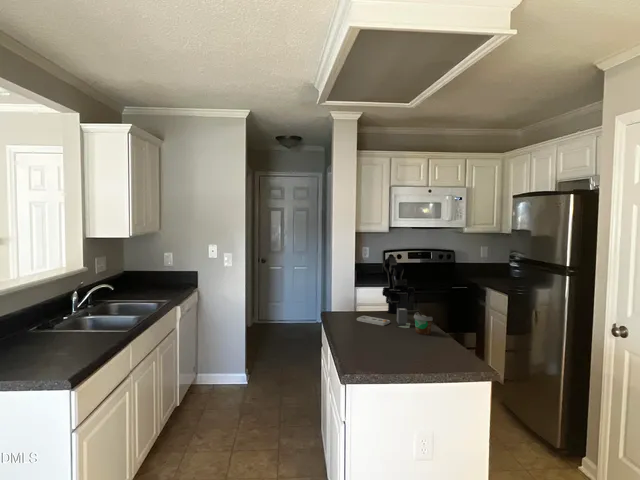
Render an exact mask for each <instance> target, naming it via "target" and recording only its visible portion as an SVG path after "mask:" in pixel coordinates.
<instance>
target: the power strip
mask: <svg viewBox="0 0 640 480" xmlns="http://www.w3.org/2000/svg"><path fill="white" fill-rule="evenodd" d="M356 321H358V322H363V323H367V324H373V325H378V326H386V325H388V324H390V323H391V320H389V319H385V318H381V317H374V316H370V315H369V316H367V315H361V316H359V317H357V318H356Z"/></svg>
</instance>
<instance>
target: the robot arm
mask: <svg viewBox="0 0 640 480" xmlns="http://www.w3.org/2000/svg"><path fill="white" fill-rule="evenodd" d="M382 264H383V268H384V271H385V272H386V274H387V279H388V280H387V281H388V282H387V284H388V286H384V287H382V291H381V293H382V296H383V297H385V303H386V304H388V305H387V306H388V307H387V311H386V313H387V314H396V315H397V308H398V305H400V304H401V300H402V296H401V294H406V304H407V305H408V304H409V301H410V298H412V297H414V296H415V292H416V290H415V288H414V287H407V289H405V286H407V284H408V279H407V278H403V279H402V277H403V274H404V271H405V267H404V266H403V265H402V264H401V263H399V262H398V261H397V259H396V256H387V258H386V259H384V260H383V263H382Z"/></svg>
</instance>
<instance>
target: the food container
mask: <svg viewBox="0 0 640 480" xmlns="http://www.w3.org/2000/svg"><path fill="white" fill-rule="evenodd" d="M413 319H414V323H415V324H414V326H415V334H418V335H422V336H431V332H432V325H433V324H432V323H433V316H427V315H425V314H421V313H420V312H418V311H417V312H414V315H413Z"/></svg>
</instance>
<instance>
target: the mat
mask: <svg viewBox="0 0 640 480" xmlns="http://www.w3.org/2000/svg"><path fill="white" fill-rule="evenodd" d="M410 326H411V323H409V322H407V323H406V326H399V324H398V325H396V326H395V328H402V329H410V328H411V327H410Z"/></svg>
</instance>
